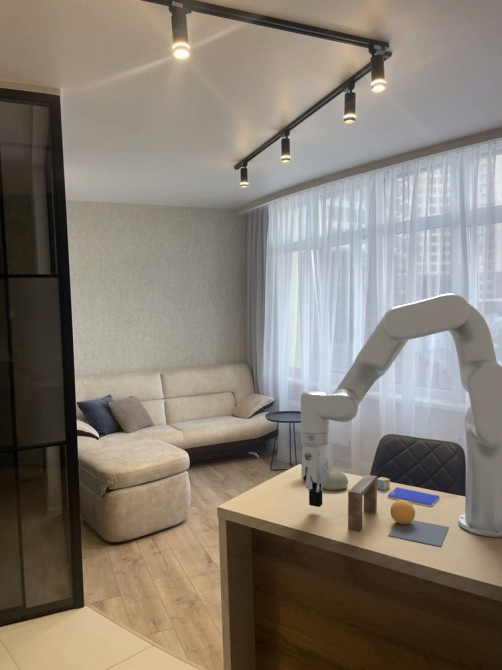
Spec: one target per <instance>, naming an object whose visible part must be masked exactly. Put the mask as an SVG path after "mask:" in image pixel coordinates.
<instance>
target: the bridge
mask: <svg viewBox="0 0 502 670" xmlns="http://www.w3.org/2000/svg"><path fill="white" fill-rule="evenodd" d="M377 478H378V476H377V475H370V474H365V475H364V476H363V477H362V478H361V479H360V480H359V481H357V483H355V485H353V486H352V487H351V488H350V489H349V490H348V493H347V495H348V496H347V498H348V499H347V503H348V504H347V523H348V524H347V531H349V532H350V531H351V532H355V533H361V532H362V531H363V513H365V514H370V515H371V514H372V515H375V514H376V513H377V510H378V508H377V507H378V506H377V505H378V501H377V500H378V488H377Z"/></svg>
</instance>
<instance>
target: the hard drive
mask: <svg viewBox="0 0 502 670" xmlns="http://www.w3.org/2000/svg"><path fill="white" fill-rule="evenodd" d="M387 499H393V500H396V501H397V500H406V501H408V502H410V503H411V504H416V505H421V506H426V507H430V508H431V507H433V506H434V504H435V503H436V502H437V501H438V500H439V499H440V495H436V494H432V493H426V492H422V491H417V490H412V489H407V488H402V487H395V488H394V489H393V490H392V491H390V492H389V493H388V494H387Z"/></svg>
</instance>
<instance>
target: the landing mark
mask: <svg viewBox="0 0 502 670" xmlns="http://www.w3.org/2000/svg"><path fill="white" fill-rule="evenodd" d="M448 530H449V526H445V525H440V524H435V523H431V522H430V523H429V522H424V521H419V520H415V519H413V521H412V522H411V523H409V524H406V525H402V524H399V523H397V522H395V523H394V525H393V527H392V529H391V530H390V532H389V533H388V534H387V535H388V537H393V538H396V539H401V540H405V541H410V542H416V543H418V544H419V543H421V544H425V545H429V546H433V547H439V548H441V547H442V545H443V542H444V540H445V538H446V535H447V532H448Z"/></svg>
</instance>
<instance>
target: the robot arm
mask: <svg viewBox="0 0 502 670" xmlns="http://www.w3.org/2000/svg"><path fill="white" fill-rule="evenodd" d="M443 332H444V333H445V332H449V333H450V334H451V335H450V336H451V337H452V339H453V342H454V346H455V350H456V354H457V359H458V366H459V367H458V368H459V373H460V374H459V376H460V383H461V385H462V387H463V389H464V390H465V391H466V392H467V393H468V398H469V402H470V406H469V407H468V409H467V410H466V413H465V416H464V431H465V447H466V448H465V451H466V453H465V506H464V513H463V514H460V515H459V517H458V521H457V522H458V525H459V526H460V527H461V528H463V529H464V530H466V531H467V532H470V533H472V534H475V535H478V536H483V537H491V538H501V537H502V365H501V364H499V363H498V362H497V361H498V360H497V357H496V353H495V352H496V351H495V347H494V344H493V340H492V339H493V338H492V334H491V331H490V327H489V325H488V323H487V321H486V320H485V318H484V316H483V315H482V314H481V313H480V312H479V311H478V310H477V309H476V308H475V307H474V306H473V305H471V304H470V303H468V302H467V300H466V299H465V298H464V297H463V296H461V295H460V294H457V293H443V294H439V295H437V296H434V297H430V298H427V299H422V300H419V301H416V302H412V303H411V302H410V303H407V304H402V305H397V306H393V307H391V308H390V309H388V310H387V311H386V312H385V314H384V315H383V316H382V317H381V319H380V320H379V323H378V324H377V326H376V327H375V328H374V329H373V331H372V333H371V335H370V336H369V337H368V339H367V341H366V342H365V343H364V345H363V346H362V347H361V349H360V351H359V352H358V354H357V355H356V357H355V359H354V361H353V364H352V365H351V367H350V368H349V370H348V371H347V373H346V374H345V375H344V377H343V379H342V380H341V382H340V383H339V385H338V386H337V387H336V389H335V391H333V393H332V394H330V393H329V394H328V393H327V392H325V391H324V390H322V391H321V390H306V391H304V392H302V393H301V395H300V440H301V441H300V443H301V445H302V450H301V451H302V452H301V454H302V455H301V480H302V482H304V483H305V489H308V505H309V506H312V507H317V508H320V507H321V506H322V505H323V489H324V488H323V481H324V480H325V479H326V478H328V477H329V476H330V474H331V470H332V465H331V463H332V462H331V451H330V450H331V449H330V421H335V422H339V423H346V422H350V421H352V420H353V419H355V418H356V416H357V415H358V412H359V405H360V404H361V402H362V401H363V399H364V398H365V396H366V395H367V393H368V392H369V391H370V389H371V388H372V387H373V385H374V384H375V382H376V381H378V380H379V379H381V377H382V376H384V375H385V374H386V373H387V372H388V371H389V369H390V367H392V365H393V363H394V362H395V361H396V359H397V358H398V356H399V354H400V353H401V351H402V350H403V348H404V347H405V345H406V344H407V343H408V341H409V340H414V339H418V338H424V337H427V336H431V335H432V336H433V335H435V334H439V333H443Z"/></svg>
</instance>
